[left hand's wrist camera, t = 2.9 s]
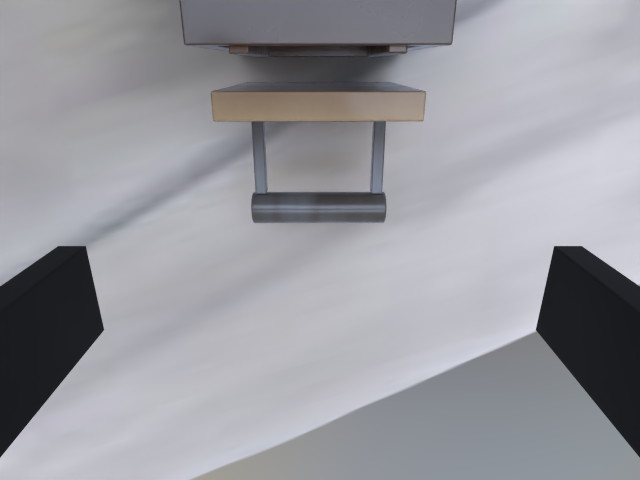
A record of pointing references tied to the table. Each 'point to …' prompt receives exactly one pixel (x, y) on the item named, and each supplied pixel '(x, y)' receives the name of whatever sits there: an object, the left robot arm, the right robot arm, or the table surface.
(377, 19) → the cabinet
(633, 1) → the table surface
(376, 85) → the drawer
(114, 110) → the table surface
